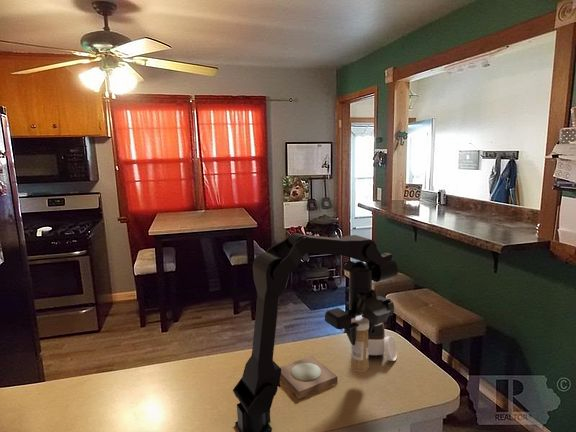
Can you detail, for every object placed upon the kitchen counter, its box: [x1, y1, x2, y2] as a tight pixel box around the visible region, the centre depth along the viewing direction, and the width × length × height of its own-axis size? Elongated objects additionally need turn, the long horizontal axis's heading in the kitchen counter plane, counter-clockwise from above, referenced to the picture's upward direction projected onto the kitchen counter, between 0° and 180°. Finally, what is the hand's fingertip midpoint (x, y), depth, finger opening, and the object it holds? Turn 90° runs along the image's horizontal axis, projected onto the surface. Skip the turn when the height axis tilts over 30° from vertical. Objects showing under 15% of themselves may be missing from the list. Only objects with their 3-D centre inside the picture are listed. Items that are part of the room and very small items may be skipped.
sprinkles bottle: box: [351, 316, 370, 373], centre depth 98 cm, size 5×5×14 cm
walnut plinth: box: [279, 355, 338, 400], centre depth 102 cm, size 12×12×2 cm
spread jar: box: [359, 315, 398, 362], centre depth 112 cm, size 12×11×12 cm
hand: (359, 342), depth 98 cm, fingers closed on sprinkles bottle, 4 cm apart
